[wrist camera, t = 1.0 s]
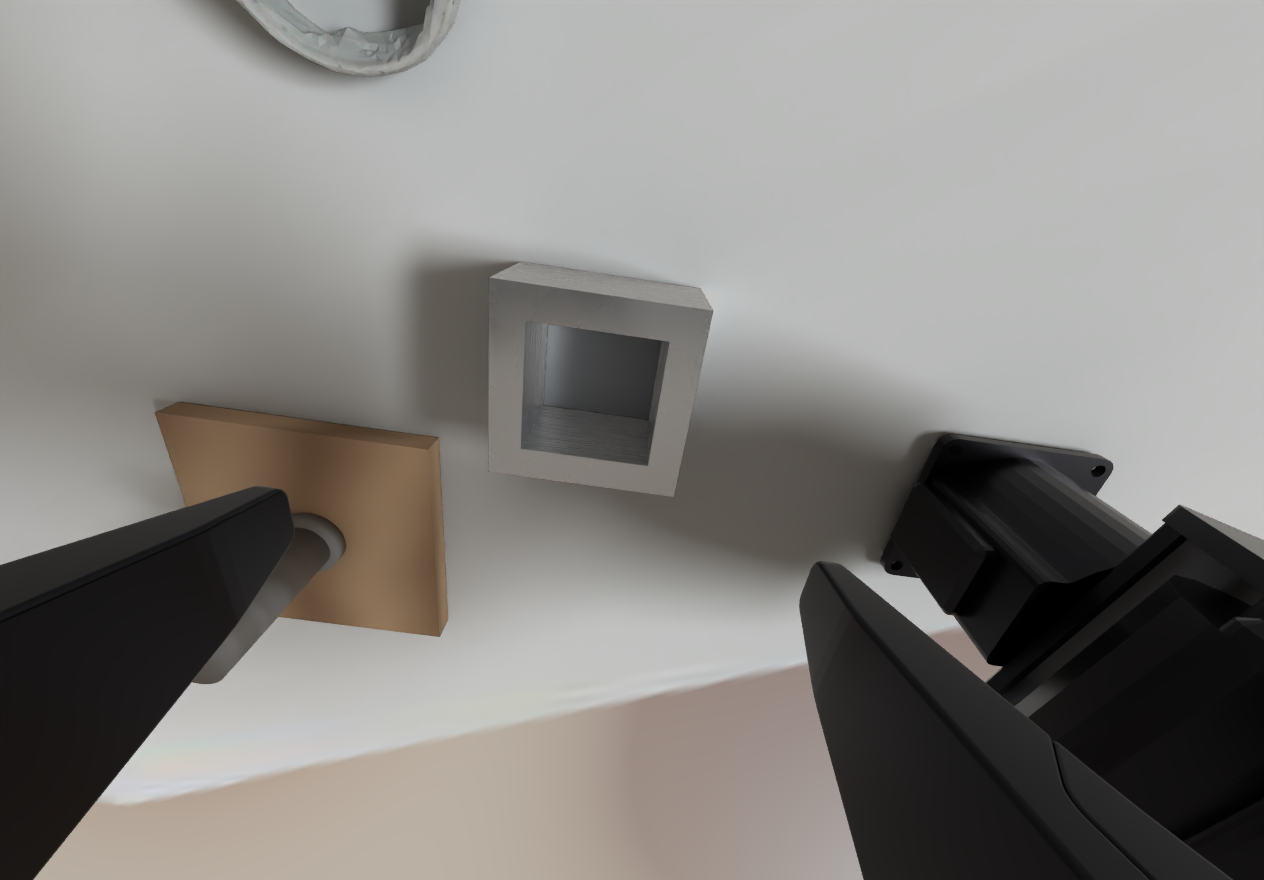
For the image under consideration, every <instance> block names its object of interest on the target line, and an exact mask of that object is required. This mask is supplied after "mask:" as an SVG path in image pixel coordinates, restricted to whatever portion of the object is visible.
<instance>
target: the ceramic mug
mask: <svg viewBox="0 0 1264 880" xmlns="http://www.w3.org/2000/svg"><path fill="white" fill-rule="evenodd" d="M236 1H237V2H238V3H239V4H240V5H241V6H242V7H243V8H244V9H245V10H246V11H247V12H248V13H249V14H250V15H251V16H252V17H253V18H254V19H255V20H256V21H257V22H258V23H259V24H260V25H261V26H262V27H263V28H264V29H265V30H266V31H267V32H268V33H270V34H271V35H272V36H273V37H274V38H276V39H277V40H278V41H279V42H280V43H282V44H283V45H285V46H287V47H288V48H290V49H292V50H293V51H295V52H297V53H298V54H300V55H302V56H303V57H305V58H307V59H308V60H311V61H313V62H315V63H317V64H319V65H322V66H324V67H326V68H328V69H330V70H333V71H336V72H340V73H343V74H353V75H357V76H361V77H362V76H384V75H389V74H394V73H398V72H403V71H406V70H408V69H410V68H412V67H414V66H416V65H418V64H420V63H422V62H424V61H425V60H426V59H427V58H428V57H429V56H430V55H431V54H432V53H433V52H434V50H435V49H436V48H437V47H438V45H439V44H440V43H441V42H442V40H443V39H444V38H445V36H446V35H447V33H448V32H449V30H450V29H451V27H452V25H453V24H454V21H455V18H456V15H457V11H458V8H459V4H460V0H430V5H429V6H428V7H427V8H426V13H425V21H424V23H423V24H420V25H414V26H410V27H405V28H401V29H397V30H393V31H385V32H371V33H362V32H360V31H358V30H355V29H353V28H351V27H346V28H343V29H341V30H339V31H337V32H336V33H335V34H334V35H332V34H329V33H327V32H325V31H324V30H322V29H321V28H320V27H318V26H317V25H316V24H314V23H313V22H312V21H310V20H309V19H308V18H306V17H305V16H304V15H302V14H301V13H300V12H298V11H297V10H296V9H295V8H294V7H293V6H292V5H291V4H290V3H289V2H288V1H287V0H236Z"/></svg>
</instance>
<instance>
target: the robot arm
mask: <svg viewBox="0 0 1264 880" xmlns="http://www.w3.org/2000/svg"><path fill="white" fill-rule="evenodd" d="M953 445H955V448H954V449H953V450H951V451H950V452H947V450H948V449H949V448H950V447H951V446H953ZM1094 467H1095V468H1094ZM1093 468H1094V469H1093ZM1092 469H1093V470H1092ZM1112 470H1113V464H1112V463H1111V461H1109V460H1107V459H1106V458H1104V457H1102V456H1100V455H1097V454H1090V453H1083V452H1076V451H1069V450H1062V449H1055V448H1048V447H1041V446H1034V445H1027V444H1020V443H1013V442H1006V441H999V440H992V439H985V438H978V437H971V436H964V435H957V434H948V435H946V436H943V437H942V438H940V439H939V440H938V441H937V443H936V444H935V446H934V448H933V450H932V452H931V454H930V457H929V459H928V461H927V463H926V465H925V467H924V469H923V471H922V473H921V475H920V477H919V480H918V482H917V484H916V486H915V487H914V488H913V490H912V492H911V494H910V496H909V498H908V500H907V502H906V504H905V507H904V509H903V511H902V513H901V515H900V517H899V519H898V521H897V523H896V525H895V528H894V530H893V532H892V534H891V538H890V540H889V542H888V544H887V546H886V548H885V551H884V553H883V555H882V557H881V560H880V562H881V565H882V566H883V568H884V569H885V571H886V572H887V573H889V574H892V575H899V576H906V577H914V578H920V579H921V581H922V582H923V583H924V585H925V586H926V588H927V589H928V591H929V592H930V593H931V595H932V596H933V598H934V599H935V600H936V602H937V603H938V605H939V606H940V607H941V609H942V610H943V612H944V613H945V614H947V615H953V616H954V617H955V619H956V620H957V621H958V623H959V624H960V625H961V627H962V628H963V630H964V631H965V632H966V634H967V635H968V636H969V638H970V639H971V641H972V642H973V643H974V645H975V646H976V648H977V649H978V650H979V652H980V653H981V654H982V656H983V657H984V659H985V660H986V661H987V663H988V664H991V665H995V666H1003V667H1002V668H1001V669H999V670H998V671H997V672H996V673H995V674H994V675H993V676H992V677H990V678H989V679H988V680H987V681H986V682H984V681H983V680H981V679H980V678H979V677H978V676H976V675H975V674H974V673H973V672H972V671H970V670H969V669H968V668H967V667H965V666H964V665H963V664H962V663H961V662H959V661H958V660H957V659H956V658H954V657H953V656H952V655H951V654H949V653H948V652H947V651H946V650H945V649H944V648H942V647H941V646H940V645H939V644H937V643H936V642H935V641H934V640H933V639H931V638H930V637H929V636H928V635H927V634H925V633H924V632H923V631H922V630H920V629H919V628H918V627H917V626H916V625H914V624H913V623H912V622H911V621H909V620H908V619H907V618H906V617H905V616H903V615H902V614H901V613H900V612H899V611H897V610H896V609H895V608H894V607H892V606H891V605H890V604H889V603H888V602H886V601H885V600H884V599H883V598H882V597H880V596H879V595H878V594H877V593H875V592H874V591H873V590H872V589H871V588H869V587H868V586H867V585H866V584H864V583H863V582H862V581H861V580H860V579H858V578H857V577H856V576H855V575H854V574H852V573H851V572H850V571H849V570H847V569H846V568H845V567H844V566H842V565H840V564H837V563H830V562H822V561H819V562H816V563H815V564H814V565H813V567H812V568H811V571H810V573H809V576H808V579H807V581H806V584H805V586H804V589H803V591H802V594H801V597H800V604H799V608H800V615H801V622H802V628H803V634H804V640H805V646H806V653H807V659H808V665H809V671H810V677H811V683H812V688H813V693H814V698H815V702H816V706H817V710H818V714H819V718H820V722H821V725H822V729H823V732H824V736H825V740H826V743H827V747H828V751H829V754H830V758H831V762H832V765H833V769H834V772H835V776H836V780H837V784H838V787H839V791H840V794H841V798H842V802H843V806H844V809H845V813H846V816H847V820H848V824H849V828H850V831H851V835H852V838H853V842H854V846H855V849H856V853H857V857H858V860H859V864H860V868H861V871H862V875H863V879H864V880H1264V540H1262V539H1260V538H1257V537H1255V536H1253V535H1250V534H1248V533H1246V532H1243V531H1241V530H1239V529H1236V528H1234V527H1231V526H1229V525H1227V524H1224V523H1222V522H1220V521H1217V520H1215V519H1213V518H1210V517H1208V516H1206V515H1203V514H1201V513H1199V512H1196V511H1194V510H1192V509H1189V508H1187V507H1184V506H1182V505H1178V506H1177V507H1176V508H1175V509H1174V510H1173V511H1172V512H1170V513H1169V514H1168V515H1167V516H1166V517H1165V518H1164V519H1163V520H1162V521H1164V522H1165V524H1164V525H1162V526H1161V527H1160V528H1159V529H1158V530H1157V531H1156V532H1154V533H1153V534H1151V533H1150V532H1148V531H1147V530H1145V529H1144V528H1142V527H1141V526H1139V525H1138V524H1136V523H1135V522H1133V521H1132V520H1130V519H1129V518H1127V517H1126V516H1124V515H1123V514H1121V513H1120V512H1118V511H1117V510H1115V509H1114V508H1112V507H1111V506H1109V505H1108V504H1106V503H1105V502H1103V501H1102V500H1100V499H1099V498H1097V497H1096V495H1097V493H1098V492H1099V490H1100V489H1101V487H1102V486H1103V484H1104V483H1105V481H1106V480H1107V479H1108V477H1109V476H1110V474H1111V472H1112ZM294 534H295V526H294V522H293V517H292V513H291V509H290V504H289V500H288V496H287V494H286V493H285V491H284V490H282V489H279V488H272V487H265V486H253V487H250V488H246V489H243V490H240V491H237V492H233V493H230V494H227V495H224V496H221V497H217V498H214V499H211V500H208V501H205V502H201V503H198V504H195V505H192V506H189V507H185V508H182V509H179V510H176V511H172V512H169V513H166V514H163V515H160V516H156V517H153V518H150V519H147V520H144V521H140V522H137V523H134V524H131V525H128V526H124V527H121V528H118V529H115V530H111V531H108V532H105V533H102V534H99V535H95V536H92V537H89V538H86V539H83V540H79V541H76V542H73V543H70V544H67V545H63V546H60V547H57V548H54V549H50V550H47V551H44V552H41V553H38V554H34V555H31V556H28V557H25V558H22V559H18V560H15V561H12V562H9V563H6V564H2V565H0V880H33V879H34V878H35V877H36V876H37V874H38V873H39V872H40V871H41V869H42V868H43V867H44V866H45V864H46V863H47V862H48V861H49V859H50V858H51V857H52V856H53V854H54V853H55V852H56V851H57V849H58V848H59V847H60V846H61V844H62V843H63V842H64V841H65V839H66V838H67V837H68V835H69V834H70V833H71V832H72V831H73V829H74V828H75V827H76V826H77V824H78V823H79V822H80V821H81V819H82V818H83V817H84V816H85V814H86V813H87V812H88V811H89V809H90V808H91V807H92V806H93V804H94V803H95V802H96V801H97V800H98V798H99V797H100V796H101V795H102V793H103V792H104V791H105V790H106V788H107V787H108V786H109V785H110V783H111V782H112V781H113V780H114V778H115V777H116V776H117V775H118V773H119V772H120V771H121V770H122V768H123V767H124V766H125V765H126V763H127V762H128V761H129V760H130V758H131V757H132V756H133V755H134V753H135V752H136V751H137V750H138V748H139V747H140V746H141V745H142V743H143V742H144V741H145V740H146V738H147V737H148V736H149V735H150V733H151V732H152V731H153V730H154V728H155V727H156V726H157V725H158V723H159V722H160V721H161V720H162V718H163V717H164V716H165V715H166V713H167V712H168V711H169V710H170V708H171V707H172V706H173V705H174V703H175V702H176V701H177V700H178V698H179V697H180V696H181V695H182V694H183V692H184V691H185V690H186V689H187V687H188V686H189V685H190V684H191V682H192V681H193V680H194V679H195V677H196V676H197V675H198V674H199V672H200V671H201V670H202V669H203V667H204V666H205V665H206V664H207V662H208V661H209V660H210V659H211V657H212V656H213V655H214V654H215V652H216V651H217V650H218V649H219V647H220V646H221V645H222V644H223V642H224V641H225V640H226V639H227V637H228V636H229V635H230V633H231V632H232V631H233V630H234V628H235V627H236V626H237V624H238V623H239V621H240V620H241V619H242V617H243V616H244V614H245V613H246V611H247V610H248V609H249V607H250V606H251V604H252V602H253V601H254V599H255V598H256V596H257V595H258V593H259V592H260V590H261V589H262V587H263V586H264V584H265V583H266V581H267V580H268V578H269V577H270V575H271V574H272V572H273V570H274V569H275V567H276V566H277V564H278V563H279V561H280V560H281V558H282V557H283V555H284V554H285V552H286V551H287V549H288V548H289V546H290V545H291V543H292V540H293V538H294ZM895 561H897V562H896V563H894V564H892V563H893V562H895Z"/></svg>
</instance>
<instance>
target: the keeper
mask: <svg viewBox="0 0 1264 880" xmlns="http://www.w3.org/2000/svg"><path fill="white" fill-rule="evenodd" d="M155 415H156V418H157V421H158V423H159V426H160V429H161V432H162V435H163V438H164V441H165V444H166V447H167V450H168V453H169V456H170V459H171V462H172V464H173V467H174V470H175V473H176V476H177V479H178V482H179V485H180V488H181V491H182V494H183V497H184V500H185V502H186V505H187V507H189V506H192V505H195V504H198V503H201V502H205V501H208V500H211V499H214V498H217V497H221V496H224V495H227V494H230V493H233V492H237V491H240V490H243V489H246V488H250V487H253V486H265V487H272V488H279V489H282V490H284V491H285V493H286V494H287V496H288V500H289V504H290V509H291V513H292V517H293V522H294V526H295V534H294V538H293V540H292V543H291V545H290V546H289V548H288V549H287V551H286V552H285V554H284V555H283V557H282V558H281V560H280V561H279V563H278V564H277V566H276V567H275V569H274V570H273V572H272V574H271V575H270V577H269V578H268V580H267V581H266V583H265V584H264V586H263V587H262V589H261V590H260V592H259V593H258V595H257V596H256V598H255V599H254V601H253V602H252V604H251V606H250V607H249V609H248V610H247V611H246V613H245V614H244V616H243V617H242V619H241V620H240V621H239V623H238V624H237V626H236V627H235V628H234V630H233V631H232V632H231V633H230V635H229V636H228V637H227V639H226V640H225V641H224V642H223V644H222V645H221V646H220V647H219V649H218V650H217V651H216V652H215V654H214V655H213V656H212V657H211V659H210V660H209V661H208V662H207V664H206V665H205V666H204V667H203V669H202V670H201V671H200V672H199V674H198V675H197V676H196V677H195V679H194V680H193V681H192V682H194V683H199V684H213V683H216V682H219V681H221V680H222V679H223V678H224V677H225V676H226V675H227V673H228V672H229V671H230V670H231V669H232V668H233V667H234V666H235V664H236V663H237V662H238V661H239V660H240V659H241V658H242V657H243V655H244V654H245V653H246V652H247V651H248V650H249V649H250V648H251V646H252V645H253V644H254V643H255V642H256V641H257V640H258V639H259V637H260V636H261V635H262V634H263V633H264V632H265V631H266V630H267V629H268V627H269V626H270V625H271V624H272V623H273V622H274V621H275V620H276V618H277V617H285V618H293V619H301V620H309V621H317V622H325V623H333V624H341V625H349V626H357V627H365V628H373V629H381V630H389V631H397V632H405V633H413V634H421V635H429V636H437V637H440V635H441V633H442V631H443V629H444V627H445V625H446V623H447V621H448V613H447V593H446V573H445V553H444V533H443V513H442V494H441V474H440V454H439V438H436V437H429V436H422V435H414V434H407V433H400V432H392V431H385V430H378V429H371V428H363V427H356V426H349V425H341V424H334V423H327V422H320V421H312V420H305V419H298V418H290V417H283V416H276V415H269V414H261V413H254V412H247V411H239V410H232V409H225V408H218V407H210V406H203V405H196V404H188V403H181V402H178V403H176V404H173V405H171V406H169V407H166V408H164V409H162V410H159V411H157V412H155Z"/></svg>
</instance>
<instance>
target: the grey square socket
mask: <svg viewBox="0 0 1264 880" xmlns="http://www.w3.org/2000/svg"><path fill="white" fill-rule="evenodd" d="M712 314H713V309H712V308H711V306H710V304H709V302H708V300H707V299H706V297H705V295H704V293H703V291H702V290H701V289H700V288H694V287H687V286H680V285H673V284H667V283H660V282H653V281H647V280H640V279H633V278H627V277H620V276H613V275H606V274H600V273H593V272H586V271H580V270H573V269H566V268H560V267H553V266H546V265H539V264H533V263H526V262H519V263H517V264H515V265H513V266H511V267H509V268H507V269H505V270H503V271H501V272H499V273H497V274H495V275H493V276H491V277H489V402H488V472H493V473H501V474H508V475H516V476H523V477H530V478H538V479H545V480H552V481H560V482H567V483H575V484H582V485H589V486H597V487H604V488H612V489H619V490H626V491H634V492H641V493H648V494H656V495H663V496H671V497H674V494H675V489H676V484H677V479H678V475H679V470H680V465H681V461H682V456H683V451H684V446H685V442H686V437H687V432H688V427H689V423H690V418H691V413H692V409H693V404H694V399H695V394H696V390H697V385H698V380H699V375H700V371H701V366H702V361H703V357H704V352H705V347H706V342H707V338H708V333H709V328H710V324H711V319H712ZM548 324H551V325H558V326H565V327H572V328H579V329H586V330H592V331H599V332H606V333H613V334H620V335H627V336H634V337H641V338H647V339H654V340H661V341H662V342H661V348H660V354H659V360H658V366H657V372H656V378H655V384H654V390H653V396H652V401H651V407H650V413H649V419H648V420H644V419H637V418H630V417H623V416H616V415H608V414H601V413H594V412H587V411H580V410H573V409H566V408H558V407H551V406H544V405H543V398H544V381H545V364H546V347H547V329H548Z"/></svg>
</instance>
